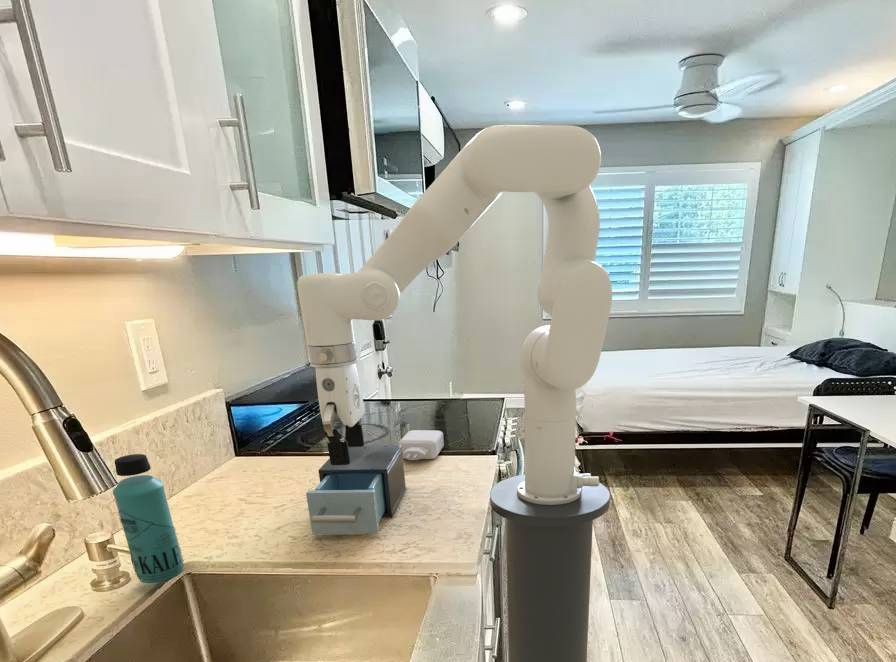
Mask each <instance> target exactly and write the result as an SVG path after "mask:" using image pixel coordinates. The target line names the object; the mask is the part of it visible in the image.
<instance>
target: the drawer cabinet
mask: <svg viewBox="0 0 896 662" xmlns="http://www.w3.org/2000/svg"><path fill="white" fill-rule="evenodd" d="M348 448H349V455H350V461H351V462H350V464H349V465H331V463H330V457H329V458H328V459H327V460H326V461H325V462H324V464H323V465H322V466H321V467H319V469H318V470H317V471H318V477H319V483H320V482H321V481H322V480H323V479H324V478H325V477H326V476H327V474H365V473H383V475H384V484H385V494H386V504H387V508H386V510H385V512H384V513H383V515H382V517H381V519H382V518H383V519H384V518H385V519H387V518H388V519H389V518H390V519H392V518H393V517H394V514H395V513H396V510H397V508H398V506H399V504H400V502H401V499H402V497H403V496H404V493H405V491H406V488H407V487H406V477H405V466H404V459H403V454H402V445H398V444H396V445H395V444H392V445H389V444H388V445H387V444H386V445H385V444H384V445H364V446H362V447H348Z"/></svg>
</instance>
